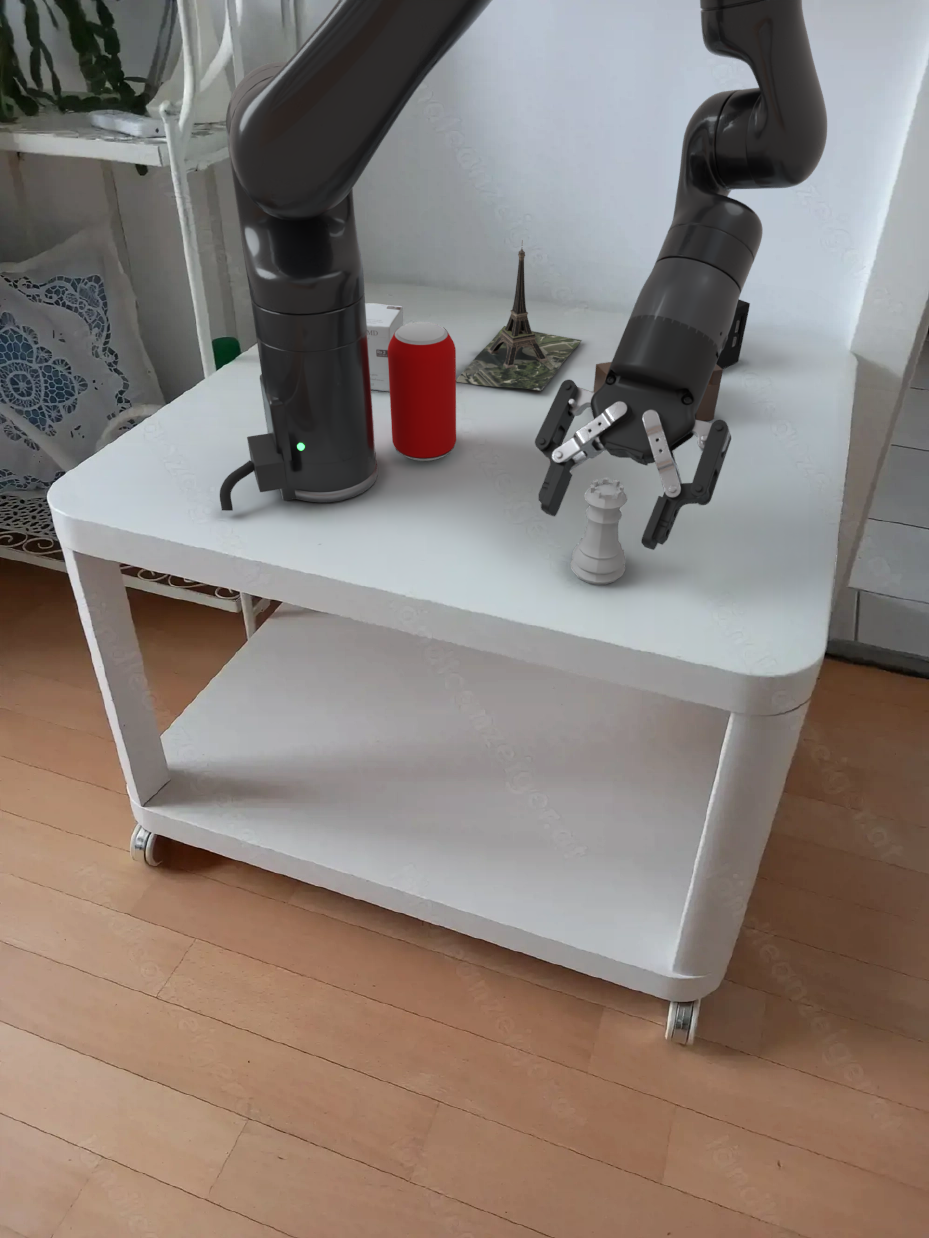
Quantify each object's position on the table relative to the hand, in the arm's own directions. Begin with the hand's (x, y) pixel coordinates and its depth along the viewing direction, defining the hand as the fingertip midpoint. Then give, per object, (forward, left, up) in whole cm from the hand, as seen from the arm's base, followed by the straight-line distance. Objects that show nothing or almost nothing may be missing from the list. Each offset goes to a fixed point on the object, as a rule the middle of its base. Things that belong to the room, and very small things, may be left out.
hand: (596, 529), depth 72 cm
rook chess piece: (+1, +1, -5) cm, 5 cm away
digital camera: (+28, +36, -5) cm, 46 cm away
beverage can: (-7, +24, -5) cm, 25 cm away
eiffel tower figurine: (+9, +40, -5) cm, 41 cm away
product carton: (-8, +41, -5) cm, 42 cm away
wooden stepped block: (+18, +25, -5) cm, 31 cm away
